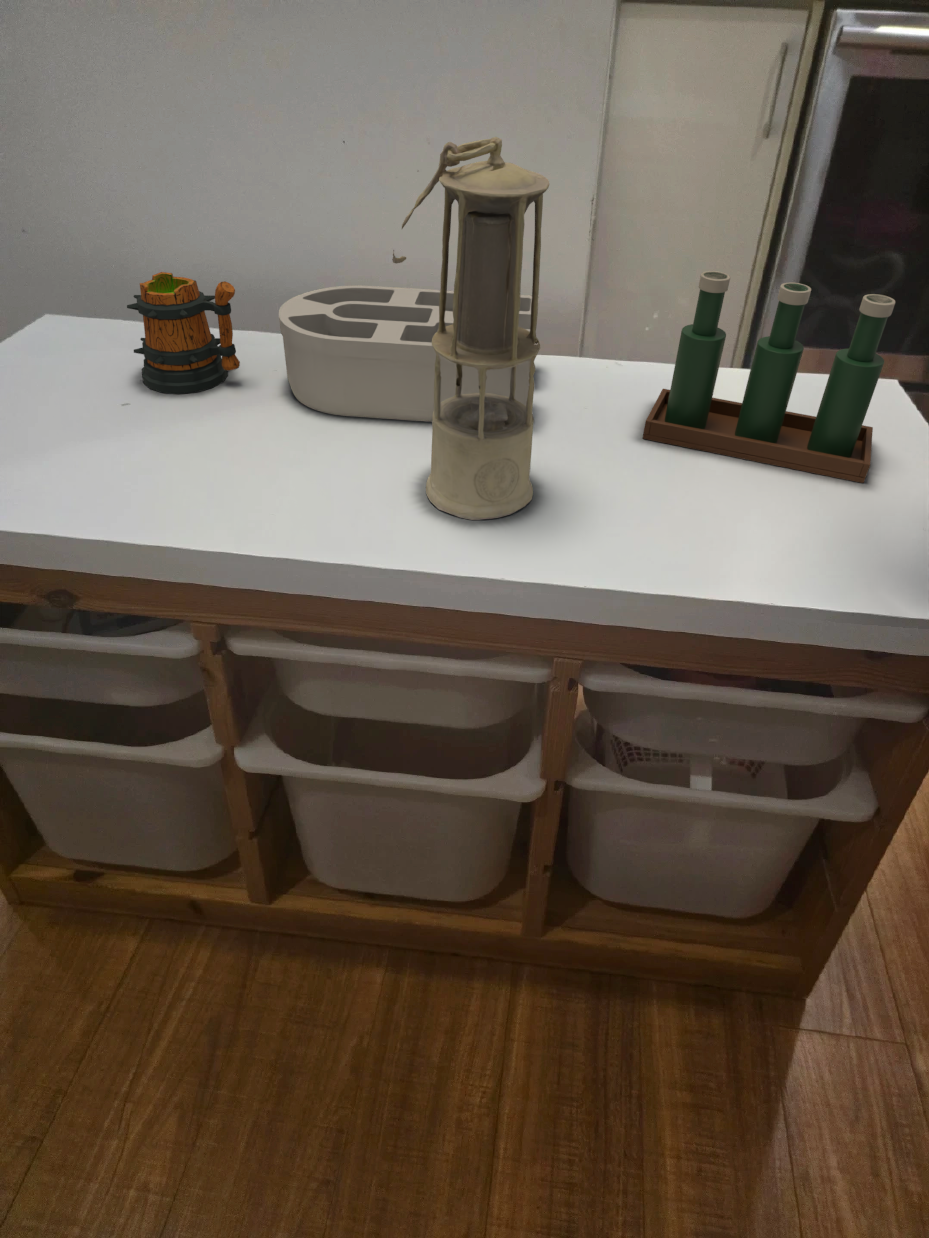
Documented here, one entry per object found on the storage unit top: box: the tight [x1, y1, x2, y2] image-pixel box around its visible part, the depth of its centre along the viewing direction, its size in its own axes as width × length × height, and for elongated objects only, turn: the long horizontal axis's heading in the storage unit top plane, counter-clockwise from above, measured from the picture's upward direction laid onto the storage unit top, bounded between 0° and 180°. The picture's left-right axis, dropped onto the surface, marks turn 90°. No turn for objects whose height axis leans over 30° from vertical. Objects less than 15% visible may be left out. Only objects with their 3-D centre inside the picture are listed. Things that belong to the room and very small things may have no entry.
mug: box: [126, 271, 241, 395], centre depth 96 cm, size 13×10×12 cm
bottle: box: [807, 293, 896, 458], centre depth 83 cm, size 4×4×16 cm
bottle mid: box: [735, 282, 812, 443], centre depth 85 cm, size 4×4×16 cm
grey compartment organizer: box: [278, 284, 540, 423], centre depth 96 cm, size 17×28×9 cm, turn 84°
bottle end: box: [665, 270, 731, 429], centre depth 87 cm, size 4×4×16 cm
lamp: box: [391, 136, 550, 521], centre depth 72 cm, size 10×13×30 cm
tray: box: [642, 388, 874, 484], centre depth 90 cm, size 22×9×2 cm, turn 68°
